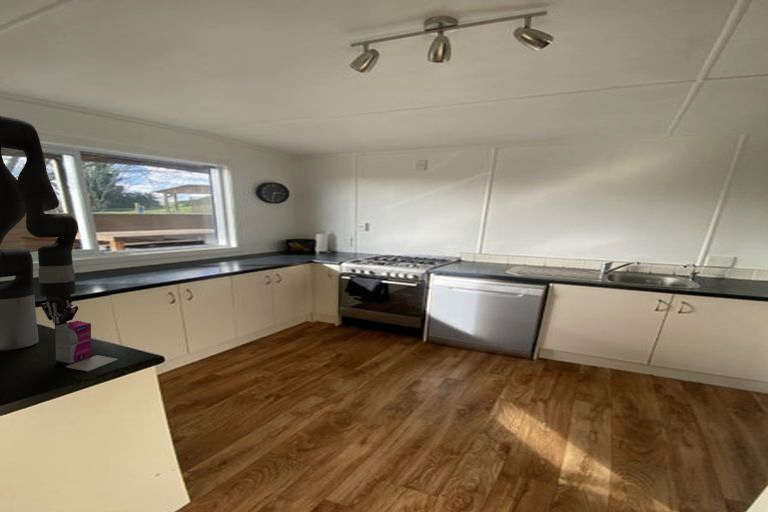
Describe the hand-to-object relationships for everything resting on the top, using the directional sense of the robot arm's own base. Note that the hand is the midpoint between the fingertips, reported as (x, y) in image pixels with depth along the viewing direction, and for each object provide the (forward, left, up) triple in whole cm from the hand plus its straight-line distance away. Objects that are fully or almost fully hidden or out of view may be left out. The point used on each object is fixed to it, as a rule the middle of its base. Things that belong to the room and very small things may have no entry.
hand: (61, 333), depth 96 cm
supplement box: (+5, 0, -8) cm, 9 cm away
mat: (+13, 0, -8) cm, 15 cm away
